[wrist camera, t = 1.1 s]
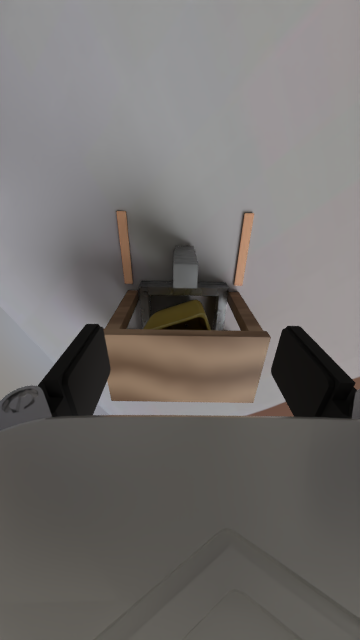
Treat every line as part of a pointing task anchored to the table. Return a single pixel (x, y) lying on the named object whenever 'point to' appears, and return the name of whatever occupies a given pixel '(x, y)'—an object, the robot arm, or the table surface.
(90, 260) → the table surface
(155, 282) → the grey tray with upright
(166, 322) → the flower pot
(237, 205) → the table surface
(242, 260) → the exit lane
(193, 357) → the small wooden table
